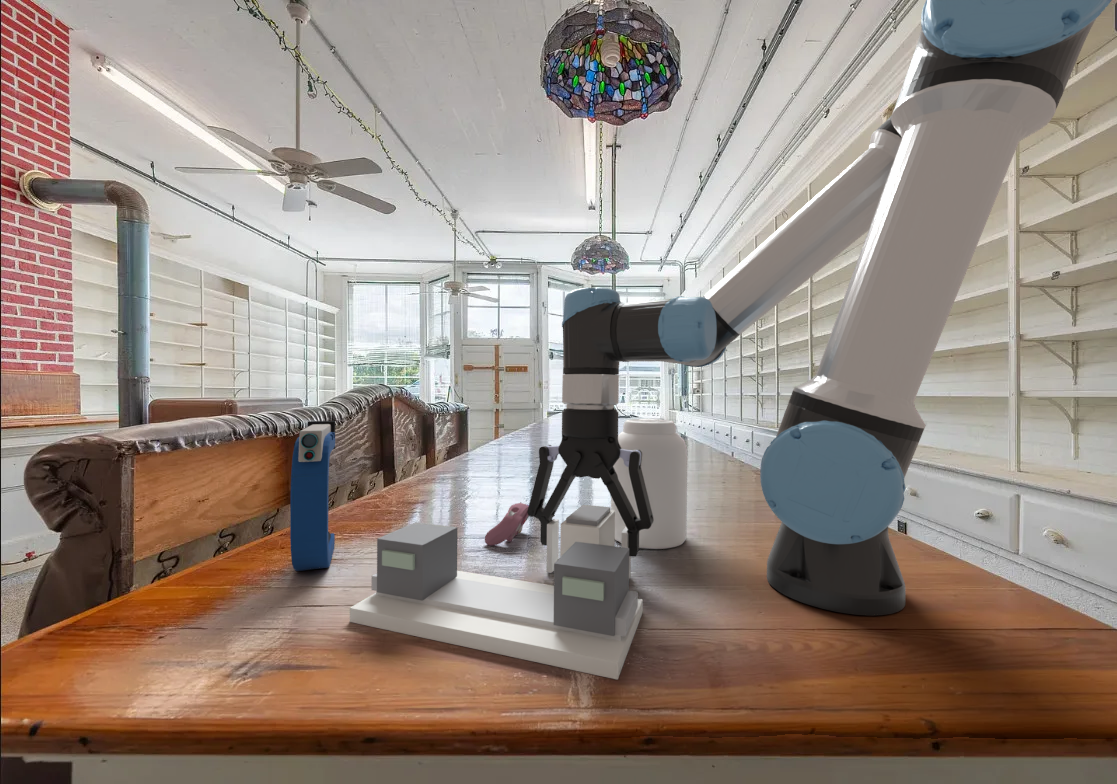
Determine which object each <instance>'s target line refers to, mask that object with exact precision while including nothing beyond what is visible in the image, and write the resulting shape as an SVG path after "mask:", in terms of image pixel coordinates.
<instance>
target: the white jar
mask: <svg viewBox="0 0 1117 784" xmlns="http://www.w3.org/2000/svg"><path fill="white" fill-rule="evenodd" d="M675 424H676V423H675V422H674V421H673V420H670V419H660V418H659V419H658V418H630V419H626V420H625V421H624V423H623V427H622V431H621V432H620V433H618V442H619V445H620V447H621V449H625V450H632V451H635V450H637V449H638V450H640V451H641V452H642V462H641V469H642V473H643V478H644V482H645V486H646V490H647V494H648V498H649V502H650V506H651V510H652V514H653V518H654V521H653V523H652V525H651V527H650V528H649V529H642V530H640V531H639V549H645V550H646V549H647V550H649V549H650V550H662V549H663V550H665V549H671V548H676V547H679V546H681V545H683V543H685V541H686V539H687V530H688V529H687V528H688V527H687V526H688V525H687V522H688V521H687V519H688V517H687V515H688V512H687V511H688V452H689V451H688V448H687V444H686V441H685V440H684V438H683V437H682V436H680V434H679V433H677V426H676V425H675ZM613 467H614V469H615V471H616V473H617V476H618V480H619V482H620V484H621V486H622V488H623V490H624V492H625V494H626V496H627V498H628V500H629V502H630V504H631V506H632V508H633V510H634V512H635V514H636V516H637V518H640V516H639V512H638V508H637V504H636V500H635V496H634V492H633V488H632V484H631V479H630V475H629V467H627V466H625V464H624V460H623V459H622V458H621V457H620V458H619V459H618V460H617V462H616V463H615V464H614V466H613ZM610 510H614V511H615V541H617V542H619V543H620V544H621V540H622V531H623V530H624V529H625V527H626V525H625V523H624V521H623V519H622V517H621V515H620V513H619V511H618V509H617V507H616V505H615V503H614V501H613V499H612V497H611V496H610Z"/></svg>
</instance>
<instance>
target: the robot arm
mask: <svg viewBox="0 0 1117 784" xmlns="http://www.w3.org/2000/svg"><path fill="white" fill-rule="evenodd" d="M1111 1H1112V0H925V2H924V4H923V7H922V10H921V15H920V16H921V17H920V20H921V22H920V23H921V24H920V25H921V28H920V33H919V36H918V39H917V42H916V46H915V48H914V52H913V55H912V56H911V61H910V63H909V66H908V69H907V72H906V74H905V78H904V80H903V83H902V86H901V89H900V91H899V95H898V96H897V99H896V102H895V105H894V108H893V110H892V113H891V115H890V116H889V117H888V118H887V120H886V121H884V122H883V123H882V124H881V125H880V126H879V127H878V128H877V129H875V131H873V132H872V133H871V135H870V140H869V145H868V148H867V149H866V150H865V151H864V152H863V153H862V154H861V155H859V156H858V157H857V158H856V159H855V160H854V161H853V162H852V163H851V164H849V165H848V166H847V167H846V168H845V169H843V171H842V172H841V173H839V174H838V175H836V177H834V179H833V180H832V181H830V182H829V183H828V184H827V185H826V186H825V187H824V188H822V190H820V191H819V192H818V193H817V194H816V195H815V196H814V197H812V199H810V200H809V201H807V203H805V205H803V206H802V207H801V208H800V209H799V210H798V211H797V212H796V213H795V214H793V215H792V216H791V217H790V218H789V219H788V220H786V222H784V223H783V224H782V225H781V226H780V227H779V228H778V229H776V231H774V232H773V233H772V234H771V235H770V236H768V238H767V239H765V240H764V241H763V242H762V243H761V244H759V246H757V247H756V249H754V250H752V252H750V253H749V255H747V257H745V258H744V259H742V261H741V262H739V264H737V265H736V266H735V267H734V268H733V269H732V270H731V271H730V272H728V273H727V274H726V275H725V276H724V277H723V278H722V279H720V280H719V281H718V282H717V283H716V284H714V286H713V287H711V288H710V289H709V290H708V291H707V292H706V293H705V294H704V295H703V296H688V297H685V296H682V295H681V296H675V297H671V298H663V299H654V300H652V299H651V300H645V301H636V302H634V301H632V302H621V297H620V293H619V292H618V291H617V290H615V289H612V288H607V287H581V288H575V289H573V290H570V291H569V292H568V293H567V294H566V295H565V297H564V303H563V314H562V315H563V318H562V323H561V327H562V342H563V343H562V358H563V359H562V362H563V363H562V365H563V366H562V383H561V384H562V385H561V386H562V387H561V388H562V390H561V392H562V395H561V397H562V399H561V402H562V404H563V405H566V407H565V408H564V409H563V410H561V411H562V412H561V441H560V443H559V444H558V445H551V444H547V445H543V446H541V447H539V449H538V457H539V465H538V469H537V472H536V473H537V474H536V476H535V480H534V484H533V488H532V492H531V496H530V500H529V503H528V505H529V507H528V511H527V513H528V515H529V517H531V518H533V517H534V518H536V519H537V520H538V521H539V522H540V540H539V541H540V543H541V544H540V545H541V546H546V565H545V567H546V573H549V574H552V573H554V563H555V562H556V561H557V560H558V559H559V546H560V543H559V540H560V539H559V538H560V537H559V531H560V530H559V529H560V528H559V527H560V524H559V523H560V519H559V518H558V519H557V518H554V517H555V515H556V513H557V511H558V509H559V507H560V505H561V503H562V501H563V500H564V498H565V496H566V494H567V493H568V491H569V489H570V487H571V485H572V484H573V482H574V480H575V479H576V478H584V477H589V478H592V479H601V481H602V483H603V484H604V486H605V487H606V489H607V490H608V493H609V494H610V498H611V497H612V499H613V501H614V503H615V505H616V507H617V509H618V511H619V513H620V515H621V517H622V519H623V521H624V523H625V525H626V527H625V529H624V530H623V531H622V540H621V543H620V547H624V548H629V580H630V578H631V576H632V557H633V558H635V557H637V555H638V553H639V551H640V548H639V531H640V530H642V529H649V528H650V527H651V525H652V523H653V521H654V518H653V514H652V510H651V506H650V502H649V498H648V494H647V490H646V486H645V482H644V478H643V473H642V469H641V462H642V452H641V451H640V450H638V449H637V450H635V451H632V450H625V449H621V447H620V445H619V442H618V435H619V411H618V410H617V409H616V408H615V406H617V405H618V404H619V401H620V400H619V399H620V398H619V393H620V392H619V391H620V388H619V386H620V382H619V380H620V378H619V377H620V376H619V374H620V372H619V371H620V363H621V362H622V363H629V362H662V363H663V362H664V363H671V364H677V365H684V366H686V367H690V368H701V367H706V366H709V365H712V364H714V363H715V362H717V361H719V360H720V359H721V358H722V356H723V355H724V353H725V351H726V349H727V347H728V346H729V345H730V344H731V343H732V342H734V341H735V340H736V339H737V338H738V337H739V336H741V334H743V333H744V332H745V331H747V330H748V329H749V328H750V327H751V326H752V325H754V324H755V323H757V322H758V321H759V320H760V319H761V318H762V317H764V316H765V315H766V314H767V313H768V312H770V311H771V310H772V309H774V308H775V307H776V306H777V305H778V304H780V303H781V302H782V301H784V299H786V298H787V297H788V296H790V295H791V294H792V293H793V292H795V290H797V289H798V288H800V287H801V286H802V285H803V284H804V283H806V282H807V281H808V280H810V279H811V277H813V276H814V275H815V274H817V273H818V272H819V271H820V270H822V269H823V268H825V266H826V265H828V264H829V263H831V262H832V260H834V259H835V258H837V257H838V256H839V255H840V254H841V253H843V252H844V251H845V250H846V249H847V248H849V247H850V246H851V245H852V244H853V243H855V242H857V241H858V240H859V239H860V238H861V237H863V236H864V235H865V234H866V233H867V234H866V236H865V240H864V241H863V243H862V244H863V245H862V247H861V250H860V253H859V256H858V258H857V261H856V264H855V266H854V270H853V272H852V275H851V277H850V281H849V283H848V285H847V288H846V291H845V293H844V297H843V298H842V303H841V305H840V308H839V310H838V313H837V316H836V318H835V321H834V324H833V327H832V330H831V332H830V335H829V338H828V340H827V343H826V345H825V349H824V351H823V354H822V356H821V360H820V363H819V364H818V365H819V366H818V368H817V369H816V370H817V371H816V373H815V375H814V376H813V377H812V378H811V379H809V380H807V381H805V382H802V383H800V384H798V385H796V386H794V387H793V390H792V392H791V395H790V398H789V401H788V404H787V406H786V409H785V410H784V412H783V417H782V420H781V422H780V425H779V428H778V431H777V434H776V437H774V439H773V440H771V442H770V443H769V445H768V446H767V447H766V449H765V451H764V453H763V455H762V458H761V462H760V468H759V469H760V471H759V472H760V476H759V478H760V486H761V491H762V495H763V497H764V499H765V501H766V503H767V505H768V507H769V508H770V510H771V511H772V513H773V514H774V515H775V516H776V517H777V518H778V519H779V521H781V522H780V526H779V528H778V531H777V534H776V536H775V539H774V542H773V544H772V547H771V549H770V552H769V555H768V557H767V561H766V579H767V580H766V581H767V582H768V584H769V585H770V586H771V587H773V589H775V590H776V591H777V592H779V593H781V594H782V595H784V596H786V597H788V598H791V599H793V600H794V601H797V602H800V603H803V604H804V605H808V606H812V607H815V608H819V609H822V610H825V611H831V612H835V613H842V614H847V615H849V614H850V615H857V616H883V615H891V614H895V613H897V612H900V611H902V610H903V609H904V608H905V606H906V583H905V579H904V577H903V574H902V571H901V569H900V566H899V565H900V564H899V563H898V561H897V557H896V554H895V552H894V551H895V550H894V549H893V545H892V543H891V540H890V535H889V526H890V525H891V524H892V522H893V521H894V520H895V519H896V518H897V516H898V514H899V513H900V512H901V509H902V507H903V505H904V501H905V490H906V485H905V479H906V475H907V472H908V470H909V467H910V465H911V462H912V459H913V458H914V456H915V453H916V450H917V448H918V446H919V443H920V440H921V438H922V436H923V433H924V431H925V429H926V423H925V422H924V420H923V418H922V416H921V415H920V413H919V412H918V410H917V408H916V404H915V399H916V397H917V395H918V392H919V390H920V388H921V386H922V382H923V380H924V378H925V375H926V373H927V370H928V368H929V365H930V363H931V359H932V357H933V356H934V352H935V350H936V348H937V346H938V344H939V343H938V342H939V341H940V337H941V335H942V334H943V331H944V327H945V325H946V323H947V321H948V317H949V315H950V313H951V310H952V308H953V306H954V303H955V300H956V298H957V296H958V294H959V291H960V288H961V286H962V283H963V282H964V281H963V280H964V279H965V276H966V274H967V272H968V269H969V266H970V264H971V261H972V258H973V257H974V254H975V252H976V249H977V248H978V247H977V246H978V244H979V242H980V239H981V237H982V233H983V232H984V229H985V226H986V225H987V223H988V219H989V217H990V214H991V212H992V209H993V208H994V205H995V202H996V200H997V197H998V195H999V191H1000V190H1001V188H1002V185H1003V182H1004V180H1005V177H1006V175H1007V172H1008V170H1009V168H1010V165H1011V162H1012V160H1013V158H1014V156H1015V153H1016V151H1017V148H1018V145H1019V143H1020V142H1021V141H1023V140H1025V139H1026V138H1028V137H1030V136H1031V135H1033V134H1035V133H1037V132H1038V131H1040V130H1042V129H1043V128H1044V127H1046V126H1047V125H1048V124H1049V123H1051V121H1052V119H1053V118H1054V116H1055V114H1056V110H1057V108H1058V105H1059V103H1060V101H1061V98H1062V97H1063V95H1064V92H1065V90H1066V86H1067V85H1068V83H1069V81H1070V78H1071V76H1072V74H1073V71H1074V68H1075V66H1076V64H1077V61H1078V59H1079V57H1080V53H1081V51H1082V48H1083V46H1084V44H1085V42H1086V40H1087V37H1088V35H1089V34H1090V31H1091V29H1092V27H1093V25H1094V23H1095V21H1096V20H1097V18H1099V16H1100V15H1101V14H1102V12H1104V11H1105V10H1106V8H1107V7H1108V6H1109V5H1110V3H1111ZM559 455H560V457H561V459H562V461H563V462H564V463H565V465H566V466H565V468H564V470H563V471H562V473H561V475H560V478H559V481H558V482H557V484H556V486H555V488H554V489H553V491H552V492H551V495H550V497H549V498H548V501H547V503H546V504H545V506H544V503H545V502H544V501H545V498H546V495H547V491H548V487H549V483H550V479H551V475H552V472H553V468H554V462H555V461H556V460H558V456H559ZM620 457H621V458H622V459H623V460H624V464H625V466H627V467H629V475H630V479H631V484H632V488H633V492H634V496H635V500H636V504H637V508H638V512H639V516H640V518H637V516H636V514H635V512H634V510H633V508H632V506H631V504H630V502H629V500H628V498H627V496H626V494H625V492H624V490H623V488H622V486H621V484H620V482H619V480H618V476H617V473H616V471H615V469H614V467H613V466H614V464H615V463H616V462H617V460H618V459H619V458H620ZM543 506H544V507H543Z"/></svg>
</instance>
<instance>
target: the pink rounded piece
mask: <svg viewBox="0 0 1117 784" xmlns="http://www.w3.org/2000/svg"><path fill="white" fill-rule="evenodd" d="M528 507H529V503H528V504H527V503H524V502H523V503H522V502H521V501H520V502H518V503H514V504H512V505H510V506H509V508H508V509H507V512H506V514H505V515H504V517H503V518H502V520H500V521H499V523H498V524H496V525H495V526H494V527H492V528H491V529H489V530H488V531H487V533H486V534H485V537H484V542H485V544H486V545H487V546H489V547H490V546H491V547H493V546H498V545H500V544H502V543H503V542H505V541H507V542H508V543H511V542H512V541H513V539H514V538H515V537H517V536H518V535H519V534H520V533H522V531H523V526H524V524H525V523H526V522H527V521H528V520H529V517H530V516H529V515H528V513H527V511H528Z"/></svg>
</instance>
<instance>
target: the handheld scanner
mask: <svg viewBox="0 0 1117 784" xmlns="http://www.w3.org/2000/svg"><path fill="white" fill-rule="evenodd" d="M335 449H336V421H335V420H309V421H307V426H306V427H305V428H303V429H302V430H300V431H299V436H298V437H297V438H296V440H295V441H294V443H293V451H292V459H291V473H290V505H289V507H290V513H289V514H290V515H289V516H290V521H289V522H290V523H289V524H290V525H289V526H290V527H289V528H290V529H289V531H290V533H289V535H290V537H289V538H290V540H289V541H290V557H291V558H290V559H291V563H292V568H293V570H294V571H296V572H301V571H310V570H317V569H319V570H320V569H327V568H330V566H331V563H332V559H333V554H334V550H335V544H336V543H335V542H336V540H335V535H336V534H335V533H333V532H332V533H330V531H329V489H330V488H329V478H330V477H329V476H330V458H331V453H332V452H333V450H335Z"/></svg>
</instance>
